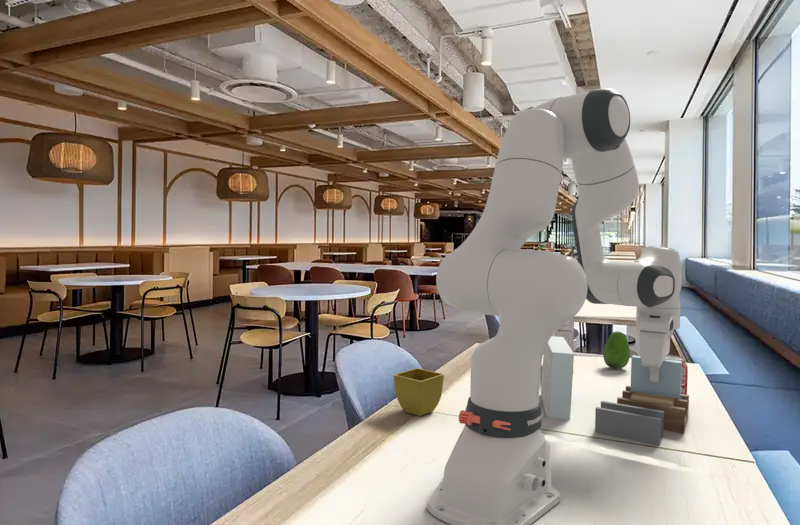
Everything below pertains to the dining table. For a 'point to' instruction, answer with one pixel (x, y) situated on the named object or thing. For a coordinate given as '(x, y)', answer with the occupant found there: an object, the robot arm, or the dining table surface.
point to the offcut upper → (653, 398)
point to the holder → (629, 422)
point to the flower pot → (418, 390)
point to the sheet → (667, 379)
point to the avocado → (616, 351)
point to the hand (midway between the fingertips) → (655, 379)
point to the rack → (672, 414)
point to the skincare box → (557, 378)
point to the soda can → (683, 373)
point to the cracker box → (566, 332)
